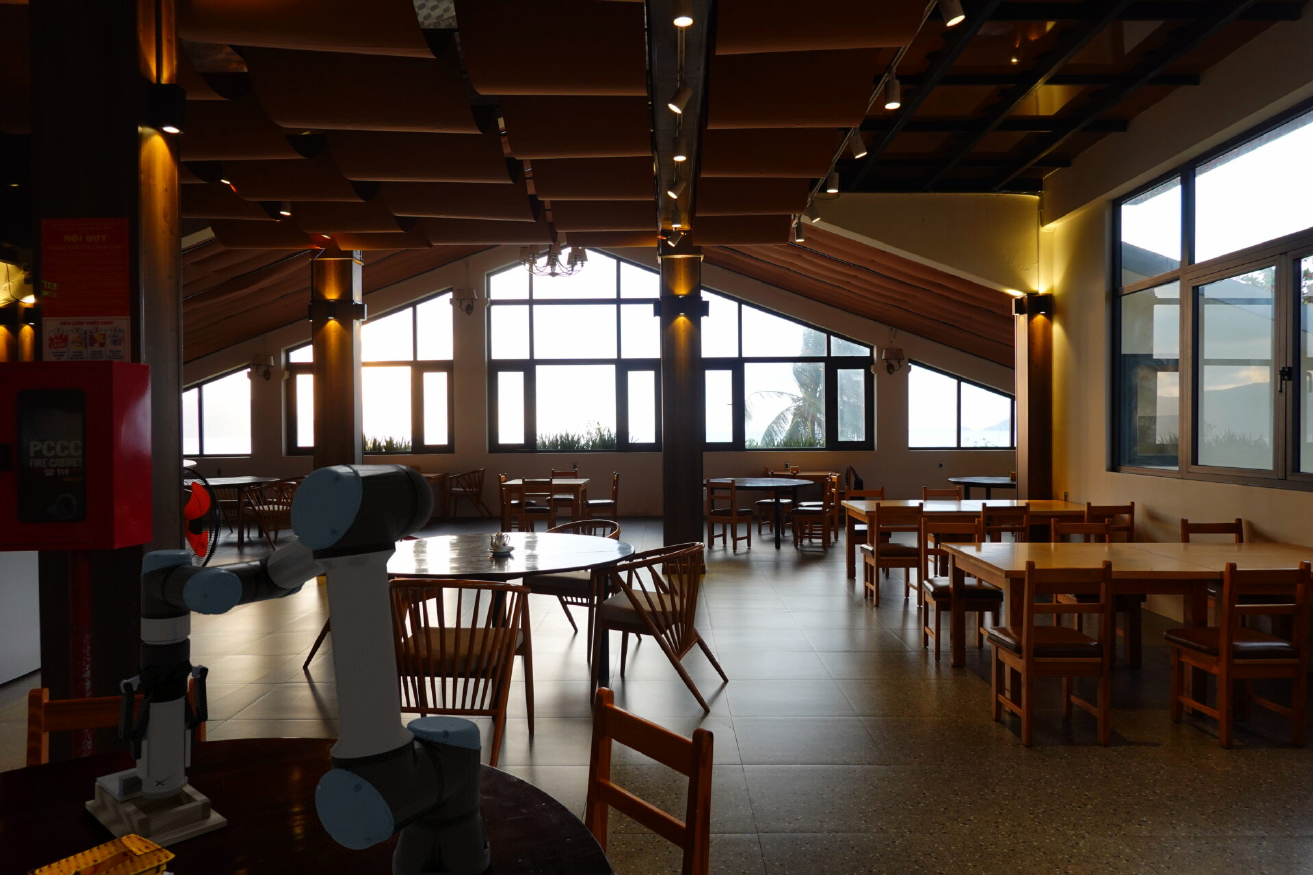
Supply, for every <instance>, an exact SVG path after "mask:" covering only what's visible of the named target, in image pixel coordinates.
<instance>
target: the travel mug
mask: <svg viewBox="0 0 1313 875" xmlns="http://www.w3.org/2000/svg"><path fill="white" fill-rule="evenodd" d="M184 685H185V686H186V680H185V679H183V678H182V679H178V680H176V681H173V683H171V684H167V685H162V686H156V687H150V688H149V689H147V688H146V687H144V686H143V693H144V695H145V697H144V699H145V700H146V699H147V697H149V696H150V694H151V693H152V691H153V689H154V699H153V700H152V701H150V706H151V707H150V719H149V721H148V724H147V727H146V730H145V733H144V736H143V738H145V739H146V740H148V747H147V778H146V779H142V796H143V797H144V798H146V799H163V798H168V797H171V796H174V795H176V794H178V793H179V792H181V791H182V789H183V785H184V780H183V778H184V726H185V700H184V698H185V696H184V693H183V691H184Z"/></svg>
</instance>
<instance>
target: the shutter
mask: <svg viewBox="0 0 1313 875" xmlns="http://www.w3.org/2000/svg"><path fill="white" fill-rule="evenodd" d="M136 771H137V767H133V768H130V769H125V770H122V771H119V772H118V771H117V772H115V773H111V774H107V775H104V776H99V777H96V783H98V784H99V785H100V786H101V787H103V788H104V789H105V790H106V791H107V792H108V793H110V794H111V795H112V796H113V797H114V798H115V799H116V800H118V801H119V802H121V801H125V800H128V799H132V798H135V797H138V796H142V779H141V778H140V777H138V776H137V775H136ZM183 780H184V783H187V784H188V782H189V778H188V777H187V775H186V767H184V778H183Z"/></svg>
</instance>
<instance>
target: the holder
mask: <svg viewBox="0 0 1313 875" xmlns="http://www.w3.org/2000/svg"><path fill="white" fill-rule="evenodd" d="M94 784H95V786H94V787H95V788H94V791H95V792H94V799H92V800H89V801H88V800H87V801H85V806H84V807H85V809H86V810H87V811H88V812H89V813H90V814H91V815H93V816H94V817H95V818H96V820H98V821H99V822H100V823H101V824H102V825H103V826H104V827H105V828H106V829H107V830H108V831H109V832H111V833H112V835H113V836H115V838H117V839H118V838H122V837H124V836H126V835H130V834H135V835H139V836H140V837H143V838H145V839H148V840H150V841H152V842H154V843H155V844H158V845H160V846H163V848H165V847H168V846H171V845H174V844H177V843H180V842H183V841H185V840H188V839H192V838H194V837H198V836H200V835H203V834H207V833H210V832H213V831H215V830H218V829H221V828H224V827H227V826H228V823H227V822H228V819H227V818H225V817H224V816H222V815H221V814H219V813H218V812H217V811H215V810H214V809H212V800H211V799H209V797H207V796H205V795H204V794H202V793H201V792H200V791H198V790H197V789H196V788H194V787H193V786H191V785H190V784H188V782H187V783H184V785H183V789H182V791H181V792H179V793H178V794H176V795H174V796H171V797H168V798H163V799H146V798H144V797H143V796H138V797H135V798H132V799H128V800H125V801H121V802H119V801H118V800H116V799H115V798H114V797H113V796H112V795H111V794H110V793H108V792H107V791H106V790H105V789H104V788H103V787H101V786H100V785H99V784H98V783H97V782H95V783H94Z"/></svg>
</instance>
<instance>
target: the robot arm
mask: <svg viewBox="0 0 1313 875" xmlns="http://www.w3.org/2000/svg"><path fill="white" fill-rule="evenodd" d="M434 502H435V501H434V492H433V489H432V487H431V485H430V482H429V481H428V480H427V479H426V477H425V476H424V475H423V474H422V473H420V472H419V470H416V469H415V468H413V467H411V466H408V465H405V464H401V463H399V464H398V463H389V464H388V463H387V464H339V465H333V466H327V467H320V468H317V469H316V470H313V471H312V472H310V473H309V474H308V475H306V476H305V477H304V478H303V479H302V481H301V483H300V485H299V486H298V487H297V489H296V491H295V492H294V495H293V498H292V502H291V507H290V523H291V528H292V531H293V534H294V535H295V536H296V537H297V538H296V539H295V540H293V541H291V542H290V543H287V544H285V545H283V546H282V547H280V548H278V549H277V550H275V551H274V552H272V553H270V554H268V555H267V556H265V557H262V558H259V559H253V560H245V561H239V562H233V563H232V562H230V563H223V564H218V565H211V566H210V565H208V566H197V565H193V563H194V562H193V560H192V554H191V552H190V551H189V550H185V549H161V550H153V551H149V552H147V553H146V554H145V555H144V556H143V557H142V563H141V564H142V566H141V573H140V591H141V592H140V602H141V603H140V612H141V613H140V614H141V617H140V639H141V640H142V643H140V652H139V653H140V654H139V656H140V659H139V660H140V661H139V664H140V667H139V669H138V670H139V671H138V672H137V673H136V675H135V676H134V677H131V678H129V679H121V680H120V681H119V683H118V685H119V689H120V691H121V701H120V710H119V721H118V729H117V730H118V731H117V735H118V737H119V738H120V739H122V740H123V741H125V742H127V741H130V757H131V759H132V760H134V761H136V768H137V771H136V775H137V776H138V777H140V778H141V779H146V778H147V747H148V740H146V739H145V738H143V736H144V733H145V730H146V727H147V724H148V721H149V719H150V707H151V706H150V701H152V700H153V699H154V689H153V691H152V693H151V694H150V696H149V697H147V699H146V700H145V699H144V697H145V695H144V692H143V694H142V699H141V703H140V705H139V709H138V710H137V714H136V717H135V719H134V710H135V699H136V695H135V692H136V691H137V689H138V685H139V684H141V685H142V686H143V688H144V687H146V688H147V689H149V688H150V687H156V686H162V685H167V684H171V683H173V681H176V680H178V679H182V678H183V679H185V681H187V678H189V676H190V675H191V677H192V678H193V680H192V683H193V696H194V698H193V699H194V711H193V707H192V704H191V702H190V699H189V697H188V694H187V687H186V684H185V685H184V691H183V693H184V696H185V698H184V700H185V722H184V767H185V768H189V767H191V746H195V745H196V742H197V729H198V728H199V727H200V724H201V723H205V722H207V721H208V720H209V712H208V710H209V709H208V694H207V681H206V680H207V676H208V674H209V671H210V670H209V668H208V667H207V666H204V665H203V664H198V665H193V664H192V663H191V660H190V658H191V639H190V637H189V636H190V635H191V632H192V630H191V629H192V628H191V626H192V624H191V623H192V622H191V620H192V618H191V617H192V616H191V614H192V613H191V612H194V613H197V614H202V615H203V616H204V615H205V616H210V615H213V616H215V615H217V616H219V615H223V614H226V613H228V612H229V611H231V610H232V609H233V608H235V607H239V606H242V605H247V604H252V603H257V602H265V601H268V600H275V599H283V598H285V597H288V596H289V597H290V596H293V595H296V594H298V593H299V592H300V591H301V590H302V588H303V586H304V585H305V584H306V582H309V581H310V580H312V579H314V578H317V577H318V576H320V575H323V574H324V573H325V580H326V581H325V584H326V593H327V605H328V616H329V627H330V628H329V629H330V638H331V648H332V649H331V650H332V661H333V672H334V683H335V694H336V706H337V716H338V725H339V726H338V727H339V728H338V729H339V738H338V739H337V741H336V742H335V743H334V745H333V746H332V747H331V748H330V750H329V756H330V766H331V769H330V770H329V771H327V772H326V773H324V775H323V776H322V777H320V779H319V782H318V784H317V785H316V788H315V795H314V798H315V799H314V801H315V807H316V812H317V814H318V817H319V820H320V822H321V824H322V827H323V828H324V829H325V831H326V833H328V834H329V835H330V836H331V838H332V839H333V840H334V841H336V843H338V844H340V845H341V846H342V847H345V848H347V849H351V850H364V849H368V848H369V847H372V846H374V845H376V844H378V843H382V842H384V841H387V840H388V839H390V838H391V837H392V836H394V835H395V834H397V833H398V832H400V831H401V832H400V834H399V837H398V839H397V840H398V841H397V844H396V848H395V850H394V852H393V855H392V868H391V869H392V871H391V872H392V875H483V874H484V873H485V872H486V870H487V869H488V868H489V866H490V863H491V846H490V845H491V844H490V842H489V838H488V835H487V831H486V829H485V826H484V823H483V819H482V816H481V812H480V811H481V810H480V807H481V806H480V805H481V804H480V803H481V769H482V768H481V766H482V764H481V761H482V756H481V755H482V749H483V746H482V741H481V730H480V728H479V726H478V725H477V723H475V722H474V721H472V720H469V719H467V718H464V717H456V716H448V715H443V716H442V715H432V716H431V715H430V716H424V717H418V718H415V719H412V720H410V721H409V722H408V723H407V724H406V726H404V725H403V723H402V722H403V721H402V712H401V702H400V691H399V689H400V688H399V681H398V680H399V678H398V672H397V670H398V669H397V659H396V658H397V657H396V649H395V638H394V627H393V616H392V607H391V597H390V584H389V574H388V565H387V564H388V562H389V560H390V559H391V558H392V556H393V555H394V554H395V553H396V552H397V547H396V542H400V540H402V539H404V538H406V537H408V536H411V535H413V534H415V533H417V532H418V531H420V530H421V529H422V528H423V527H424V526H425V525H426V524H427V522H429V520H430V518H431V515H432V513H433V510H434V504H435V503H434ZM133 719H134V723H133Z"/></svg>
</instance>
